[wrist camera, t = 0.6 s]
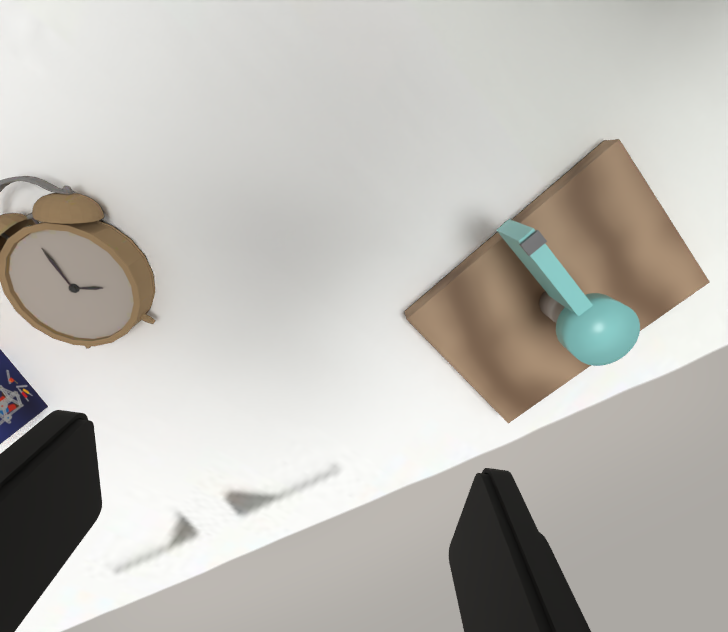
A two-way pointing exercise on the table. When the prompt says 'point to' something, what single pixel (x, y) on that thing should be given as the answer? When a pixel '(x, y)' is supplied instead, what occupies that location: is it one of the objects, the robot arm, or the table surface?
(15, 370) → the toy box
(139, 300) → the alarm clock
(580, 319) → the teal lever handle
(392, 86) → the table surface
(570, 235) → the post block
